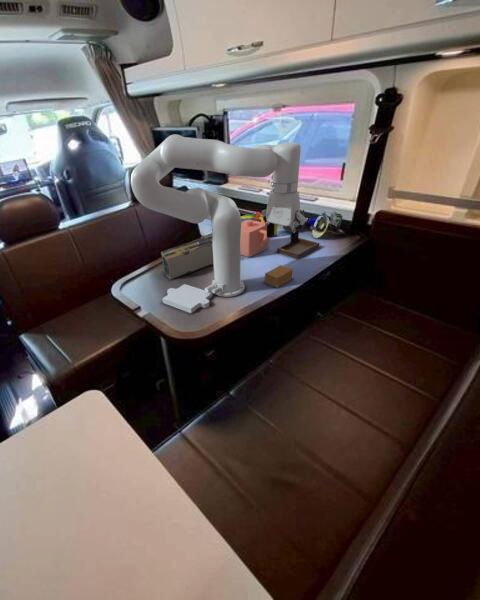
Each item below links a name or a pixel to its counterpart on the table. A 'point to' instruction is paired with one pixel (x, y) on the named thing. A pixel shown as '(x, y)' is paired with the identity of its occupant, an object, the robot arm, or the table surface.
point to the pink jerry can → (253, 237)
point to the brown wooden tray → (298, 248)
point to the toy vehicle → (336, 219)
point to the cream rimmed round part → (325, 226)
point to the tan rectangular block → (278, 276)
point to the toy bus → (187, 257)
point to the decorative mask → (249, 217)
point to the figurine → (311, 222)
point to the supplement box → (274, 227)
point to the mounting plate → (187, 298)
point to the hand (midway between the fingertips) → (281, 239)
